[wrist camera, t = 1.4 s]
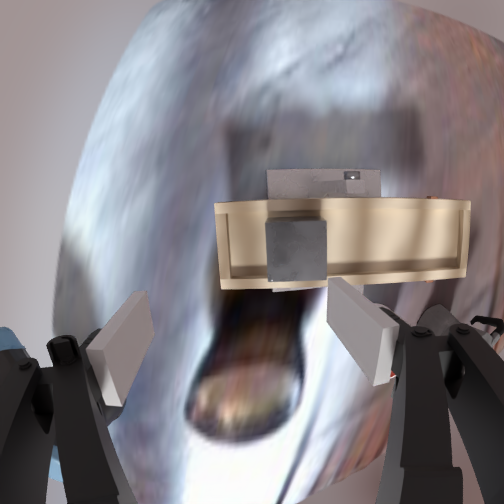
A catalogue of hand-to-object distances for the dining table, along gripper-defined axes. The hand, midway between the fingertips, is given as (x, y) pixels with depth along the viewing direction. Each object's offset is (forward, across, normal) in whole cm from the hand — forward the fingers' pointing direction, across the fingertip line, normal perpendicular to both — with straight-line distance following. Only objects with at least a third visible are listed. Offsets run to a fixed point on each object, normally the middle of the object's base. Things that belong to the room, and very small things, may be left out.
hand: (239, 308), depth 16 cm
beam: (+18, +14, 0) cm, 23 cm away
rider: (+18, +7, 0) cm, 19 cm away
